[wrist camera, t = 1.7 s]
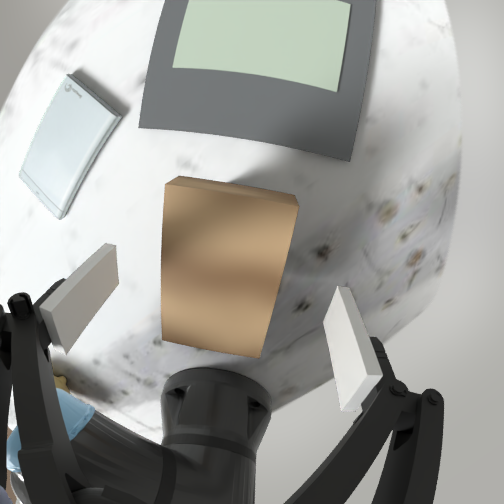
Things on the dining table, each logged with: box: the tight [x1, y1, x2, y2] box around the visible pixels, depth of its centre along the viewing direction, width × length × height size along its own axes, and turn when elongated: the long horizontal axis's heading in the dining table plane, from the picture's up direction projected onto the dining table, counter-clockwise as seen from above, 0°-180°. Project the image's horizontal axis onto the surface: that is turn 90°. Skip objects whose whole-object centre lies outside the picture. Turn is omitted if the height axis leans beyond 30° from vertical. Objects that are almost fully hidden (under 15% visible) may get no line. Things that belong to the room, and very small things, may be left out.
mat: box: [139, 0, 376, 162], centre depth 16 cm, size 19×17×1 cm
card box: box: [161, 176, 299, 358], centre depth 17 cm, size 11×7×2 cm, turn 170°
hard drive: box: [19, 74, 122, 220], centre depth 21 cm, size 2×8×12 cm
